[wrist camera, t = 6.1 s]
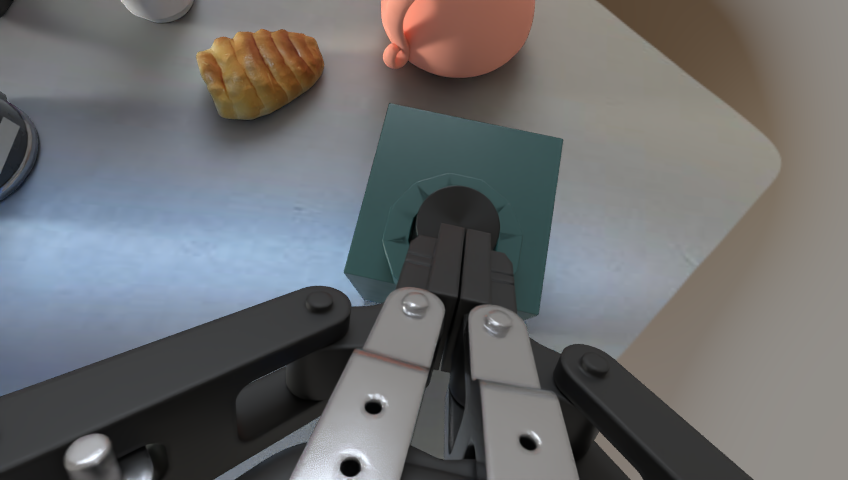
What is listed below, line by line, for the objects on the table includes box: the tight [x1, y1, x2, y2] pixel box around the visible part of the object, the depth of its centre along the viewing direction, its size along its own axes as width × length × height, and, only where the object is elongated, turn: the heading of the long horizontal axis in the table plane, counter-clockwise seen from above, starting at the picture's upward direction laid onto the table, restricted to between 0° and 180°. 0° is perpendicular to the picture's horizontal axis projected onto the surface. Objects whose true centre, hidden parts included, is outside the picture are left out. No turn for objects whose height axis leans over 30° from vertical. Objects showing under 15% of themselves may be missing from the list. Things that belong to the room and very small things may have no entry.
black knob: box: [415, 185, 500, 250], centre depth 20 cm, size 4×4×2 cm
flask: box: [344, 103, 563, 320], centre depth 27 cm, size 11×10×12 cm
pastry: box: [196, 29, 324, 120], centre depth 35 cm, size 9×7×4 cm
